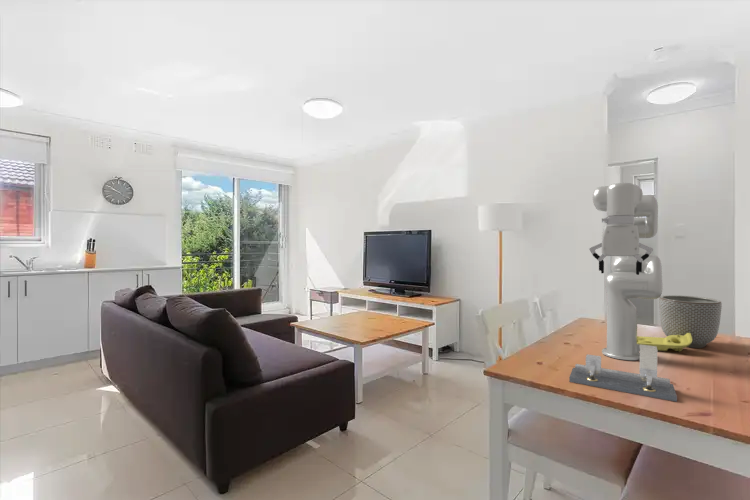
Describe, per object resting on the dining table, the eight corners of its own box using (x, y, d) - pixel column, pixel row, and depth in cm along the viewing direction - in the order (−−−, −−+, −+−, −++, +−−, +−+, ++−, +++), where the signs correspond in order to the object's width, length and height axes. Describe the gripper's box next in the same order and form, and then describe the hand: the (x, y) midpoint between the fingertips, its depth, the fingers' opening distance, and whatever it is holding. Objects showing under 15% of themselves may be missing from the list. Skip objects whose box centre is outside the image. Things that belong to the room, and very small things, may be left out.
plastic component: (629, 342, 149) (628, 327, 156) (631, 357, 151) (629, 341, 159) (694, 346, 138) (689, 330, 145) (694, 362, 140) (689, 345, 148)
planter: (714, 342, 156) (715, 297, 156) (726, 354, 140) (727, 304, 139) (656, 335, 167) (656, 293, 166) (660, 346, 150) (661, 300, 150)
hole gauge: (569, 381, 115) (569, 359, 115) (573, 371, 123) (573, 351, 123) (676, 401, 100) (677, 376, 100) (672, 389, 109) (673, 365, 109)
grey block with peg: (640, 386, 106) (640, 351, 105) (639, 377, 112) (639, 344, 112) (658, 389, 103) (658, 353, 103) (655, 380, 110) (656, 346, 110)
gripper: (589, 222, 122) (588, 273, 123) (654, 220, 113) (653, 276, 114) (590, 222, 129) (589, 271, 129) (652, 220, 119) (651, 273, 120)
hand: (619, 273), depth 122 cm, fingers open, 9 cm apart
